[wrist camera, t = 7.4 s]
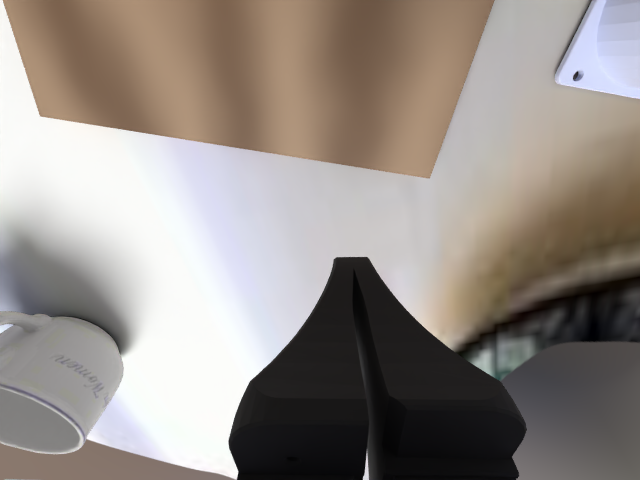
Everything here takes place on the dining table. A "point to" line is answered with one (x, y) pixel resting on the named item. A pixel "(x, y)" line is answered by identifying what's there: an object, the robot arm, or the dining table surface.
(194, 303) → the dining table surface
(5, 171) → the dining table surface
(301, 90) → the board
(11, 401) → the teacup
